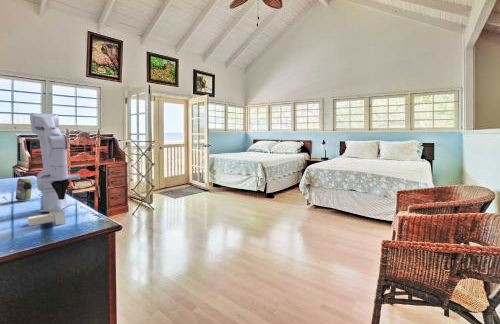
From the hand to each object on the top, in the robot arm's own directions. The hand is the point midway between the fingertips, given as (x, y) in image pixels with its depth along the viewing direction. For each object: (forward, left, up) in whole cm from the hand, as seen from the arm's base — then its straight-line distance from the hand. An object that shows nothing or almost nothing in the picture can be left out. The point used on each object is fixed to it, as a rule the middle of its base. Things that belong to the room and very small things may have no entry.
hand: (61, 199), depth 109 cm
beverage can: (-35, -37, -9) cm, 52 cm away
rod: (+3, -5, -9) cm, 10 cm away
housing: (+1, -2, -8) cm, 9 cm away
